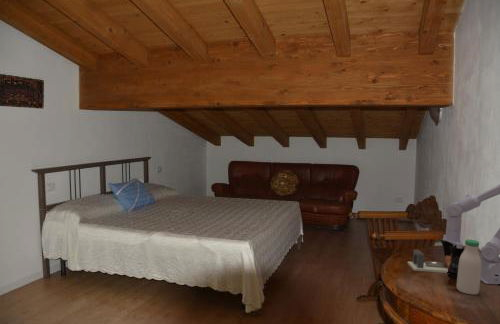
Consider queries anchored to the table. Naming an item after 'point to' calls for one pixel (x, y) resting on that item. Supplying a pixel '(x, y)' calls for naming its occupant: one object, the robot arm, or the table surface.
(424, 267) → the board
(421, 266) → the eye post
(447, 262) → the hook rod
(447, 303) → the table surface
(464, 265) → the milk bottle
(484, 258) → the robot arm
